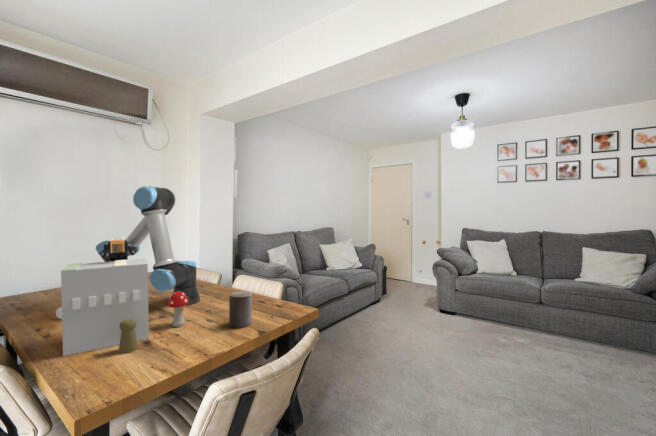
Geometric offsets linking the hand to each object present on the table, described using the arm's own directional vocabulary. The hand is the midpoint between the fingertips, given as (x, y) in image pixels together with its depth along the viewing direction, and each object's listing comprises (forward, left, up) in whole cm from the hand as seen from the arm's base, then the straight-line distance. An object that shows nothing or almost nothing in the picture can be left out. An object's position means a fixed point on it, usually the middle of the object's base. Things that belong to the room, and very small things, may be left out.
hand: (117, 239), depth 136 cm
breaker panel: (-4, +19, -39) cm, 43 cm away
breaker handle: (-2, +4, -4) cm, 6 cm away
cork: (-15, +31, -39) cm, 52 cm away
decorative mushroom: (-27, +9, -39) cm, 48 cm away
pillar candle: (-54, +15, -39) cm, 68 cm away
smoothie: (+29, -22, -36) cm, 51 cm away
